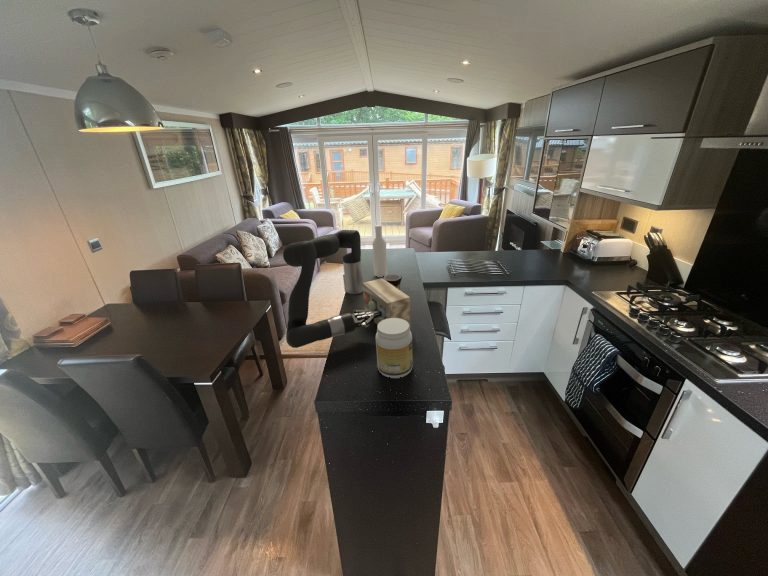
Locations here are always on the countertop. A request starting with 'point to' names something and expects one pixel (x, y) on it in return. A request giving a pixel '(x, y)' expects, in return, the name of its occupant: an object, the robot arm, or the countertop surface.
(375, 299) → the box
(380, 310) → the button slate
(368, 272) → the countertop surface
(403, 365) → the supplement tub
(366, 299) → the button terracotta
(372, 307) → the button sage
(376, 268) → the bottle
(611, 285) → the countertop surface
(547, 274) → the countertop surface
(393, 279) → the coffee mug
